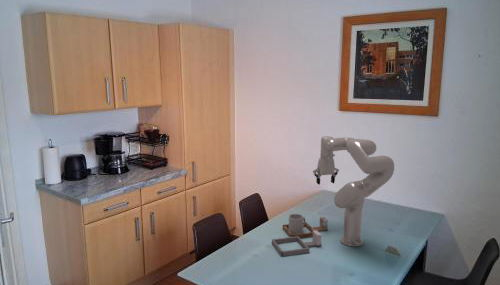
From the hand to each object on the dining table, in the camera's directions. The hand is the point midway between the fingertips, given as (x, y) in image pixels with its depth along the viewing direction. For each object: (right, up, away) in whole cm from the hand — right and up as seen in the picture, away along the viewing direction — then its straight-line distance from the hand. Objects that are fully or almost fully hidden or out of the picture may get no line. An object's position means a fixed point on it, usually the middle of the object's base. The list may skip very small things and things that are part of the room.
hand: (325, 183), depth 232 cm
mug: (-18, -30, -4) cm, 35 cm away
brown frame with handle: (-13, -29, -3) cm, 32 cm away
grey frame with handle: (-20, -33, -23) cm, 45 cm away
